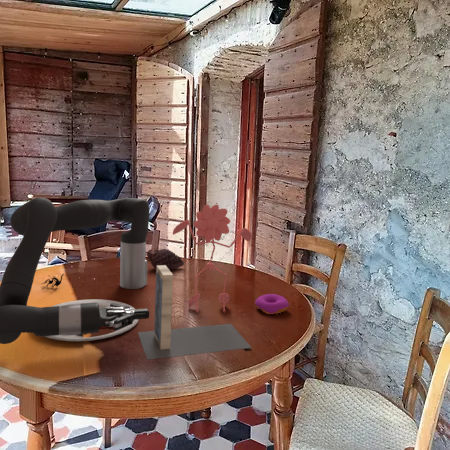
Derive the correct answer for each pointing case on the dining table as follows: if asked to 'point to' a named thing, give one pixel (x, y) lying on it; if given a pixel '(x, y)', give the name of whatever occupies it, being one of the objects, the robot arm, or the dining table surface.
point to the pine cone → (164, 258)
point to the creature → (58, 282)
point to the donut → (272, 303)
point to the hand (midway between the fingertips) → (148, 313)
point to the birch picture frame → (163, 306)
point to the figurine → (212, 229)
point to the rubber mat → (194, 341)
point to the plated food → (80, 336)
